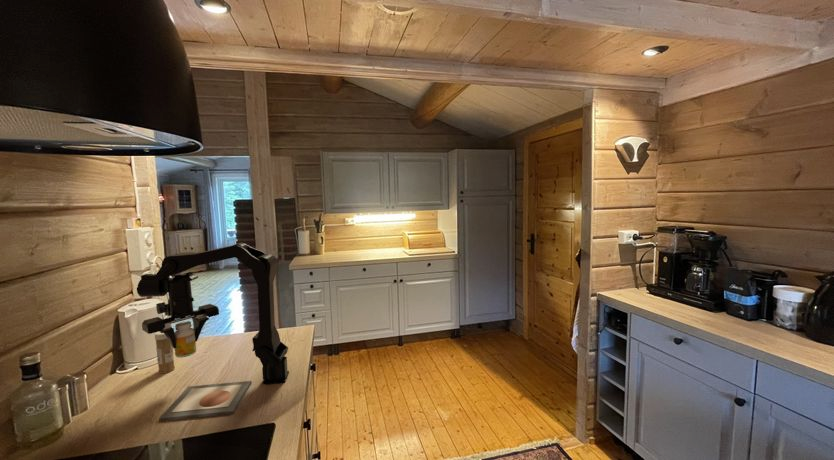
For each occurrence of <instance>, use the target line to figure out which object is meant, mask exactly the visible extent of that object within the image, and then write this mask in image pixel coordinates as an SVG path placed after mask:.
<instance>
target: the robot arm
mask: <svg viewBox="0 0 834 460" xmlns="http://www.w3.org/2000/svg"><path fill="white" fill-rule="evenodd" d="M233 258H234V259H237V260H238V261H240V263H241V264H243V265H244V266H245V267H247V268H248V269H250V271H251V274H252V278H253V280H254V282H255V284H256V286H257V303H258V304H257V306H258V328H259V329H258V332H257V333H256V334H255V335H254V336H253V337H252V339H251V340H252V344H253V348H252V352H254V355H255V357H256V358H258V359H259V361H260V363H261V365H262V370H261V371H262V380H263V382H262V385H272V384H283V383H286V380H287V379H288V376H289V374H290V371H289V370H288V357H287V356H286V354H287V353H288V350H289V347H288V345H286V344H285V343H283V342H282V341H281V338H280V333H279V331H278V329H277V328H276V322H275V318H276V317H275V300H274V299H275V296H274V295H275V294H274V292H275V291H274V283H275V278H276V274H277V270H278V263H279V262H278V259H277V257H276V256H274V255H273V254H271V253H265V252H264V251H262V250H260V249H257V248H255V247H252V246H250V245H249V244H247V243H245V242H238V243H235V244H232V245H227V246H223V247H218V248H213V249H210V250H204V251H199V252H196V251H190V252H178V253H175V254H172V255H169V256H166V257H164V258H163V260H162V261H161V266H160V268H159V269H158V271H157V272H156V273H145V274H142V275H140V280H139V281H138V283H137V287H136V292H137V295H138V296H139V297H141V298H152V297H155V298H156V297H164V296H166V295H168V298H167V303H166V302H165V301H162V302H159V303H156V305H155V306H156V313H157V315H162V314H164V316H167V318H161V317H160V316H156V317H151V318H149V319H145V320H143V321H142V323H141V327H142V328H141V329H142V331H144V332H145V333H146V334H148V335H151V334H155V333H156V332H161V333H164V334H165V335H166V337H167V338H168V340H169V342H170V343H171V345H172V347H173V350H175V348H176V341H175V334H174V332H175V329H174V328H173V327H172V326H171V325H172V324H177V323H180V322H184V321H187V320H192V328H193V329H194V331H195V341H196V342H198V340H199V337H200V335H201V333H202V330H203V328H204V326H205V324H206V322H207V321H209V320H210V318H211V317H215V316H219V315H220V309H219V307H218V306H217V305H215V304H212V303H208V304H203V305H199V306H198V308H197V310H194V304H193V302H195V300H194V299H195V298H194V297H193V294H192V284H191V282H192V281H194V280H196V279H199V276H198V275H196V274H195V273H193V272H192V271H189V270H192V269H194V268H196V267H199V266H202V265H207V264H212V263H216V262H220V261H226V260H228V259H229V260H230V259H233ZM187 271H188V272H187ZM184 272H186V273H185V274H181V273H184ZM172 276H174V277H172Z"/></svg>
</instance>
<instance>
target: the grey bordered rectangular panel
mask: <svg viewBox="0 0 834 460" xmlns="http://www.w3.org/2000/svg"><path fill="white" fill-rule="evenodd" d="M252 383H253V382H252V380H246V381H236V382H235V381H233V382H224V383H214V384H202V385H190V386H187V387H186V389H184V390H183V391H182V393H181V394H180V395H178V397H177V398H176V399H175V400H174V401H173V403H171V404H170V406H169V407H167V409H166V410H165V411H164V412H163V413H162V414H161V415H160V416H159V418H158V422H166V421H175V420H186V419H187V420H188V419H195V418H206V417H213V416H214V417H215V416H223V415H224V416H225V415H234V413H235V411H237V408H238V407H239V405H240V404H241V401H242V400H243V399H244V396H245V395H246V393H247V391H248V390H249V388H250V387H251V385H252Z"/></svg>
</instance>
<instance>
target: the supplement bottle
mask: <svg viewBox="0 0 834 460" xmlns="http://www.w3.org/2000/svg"><path fill="white" fill-rule="evenodd" d="M174 325H175V326H174V327H175V329H174V334H175V341H176V348H175V349H174V355H175V356H174V357H176V358H178V359H179V358H180V359H181V358H187V357H190V356H192V355H194V354H195V353H196V352H197V343H196V342H197V341H195V331H194V329H193V327H192V321H189V320H188V321H187V320H184V321H179V322H176V323H175V324H174Z"/></svg>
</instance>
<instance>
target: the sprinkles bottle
mask: <svg viewBox="0 0 834 460" xmlns="http://www.w3.org/2000/svg"><path fill="white" fill-rule="evenodd" d="M154 339H155V346H156V347H155V348H156V349H155V350H156V356H157V357H156V358H157V359H156V360H157V365H158V373H159V374H166V373H170V372H172V371H174V370H175V369H176V366H175V360H174V358H175V356H174V355H175V354H174V348H173V347H172V345H171V343H170V342H169V340H168V338H167V337H166V335H165V334H164V333H161V332H155V333H154Z"/></svg>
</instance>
